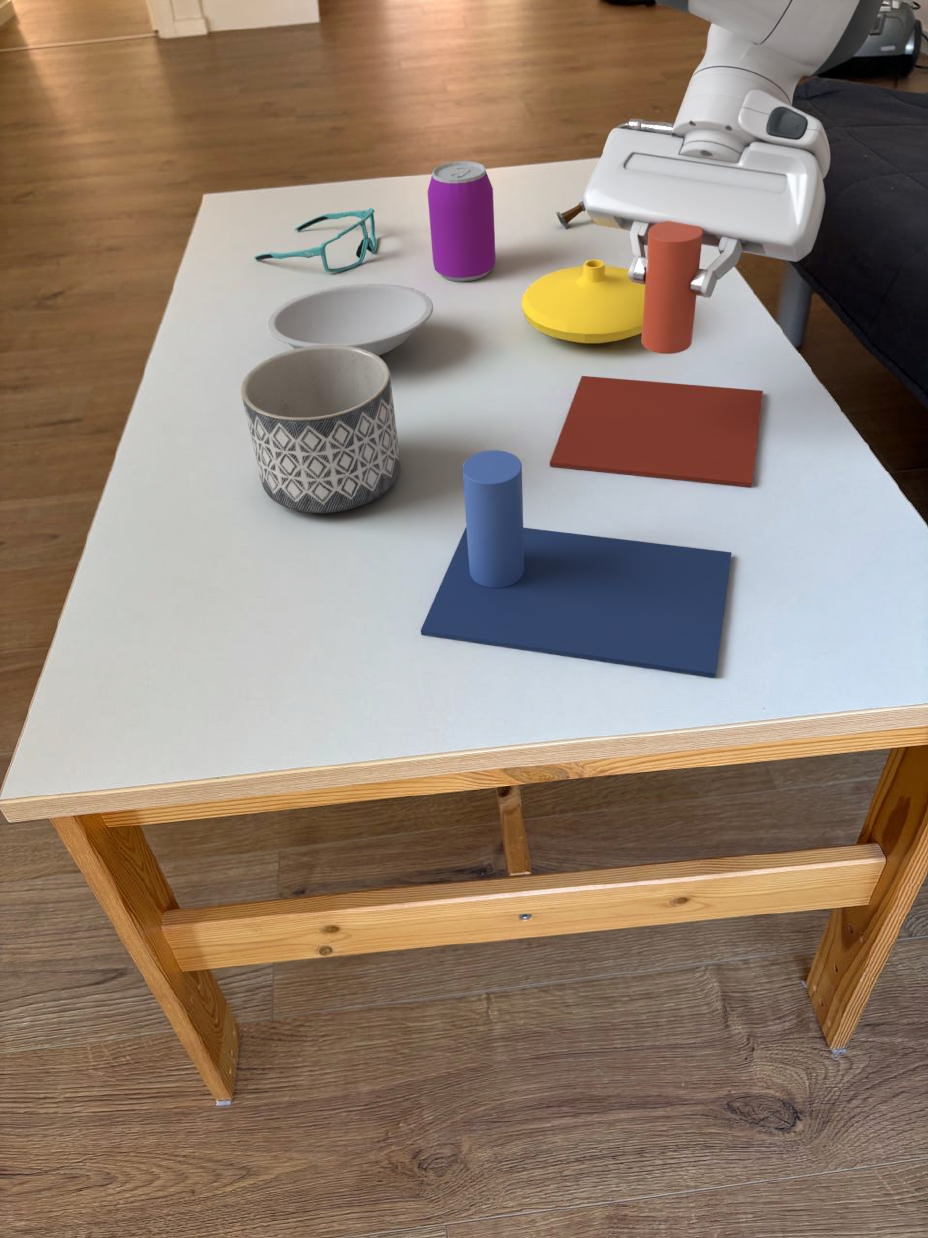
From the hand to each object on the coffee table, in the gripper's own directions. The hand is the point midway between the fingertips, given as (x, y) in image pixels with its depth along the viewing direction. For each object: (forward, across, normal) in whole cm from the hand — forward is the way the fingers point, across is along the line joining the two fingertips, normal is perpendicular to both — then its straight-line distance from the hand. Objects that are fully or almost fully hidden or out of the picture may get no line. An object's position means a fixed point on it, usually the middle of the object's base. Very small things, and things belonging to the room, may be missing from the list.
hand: (668, 287), depth 87 cm
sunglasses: (-3, -56, +24) cm, 61 cm away
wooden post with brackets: (-20, -30, +40) cm, 54 cm away
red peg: (+3, 0, +4) cm, 5 cm away
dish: (+11, -35, +10) cm, 38 cm away
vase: (-1, -16, +22) cm, 27 cm away
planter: (+25, -22, -5) cm, 34 cm away
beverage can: (-6, -36, +26) cm, 45 cm away
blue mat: (+27, +5, -7) cm, 28 cm away
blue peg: (+28, -2, -8) cm, 29 cm away
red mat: (+10, 0, +11) cm, 14 cm away
